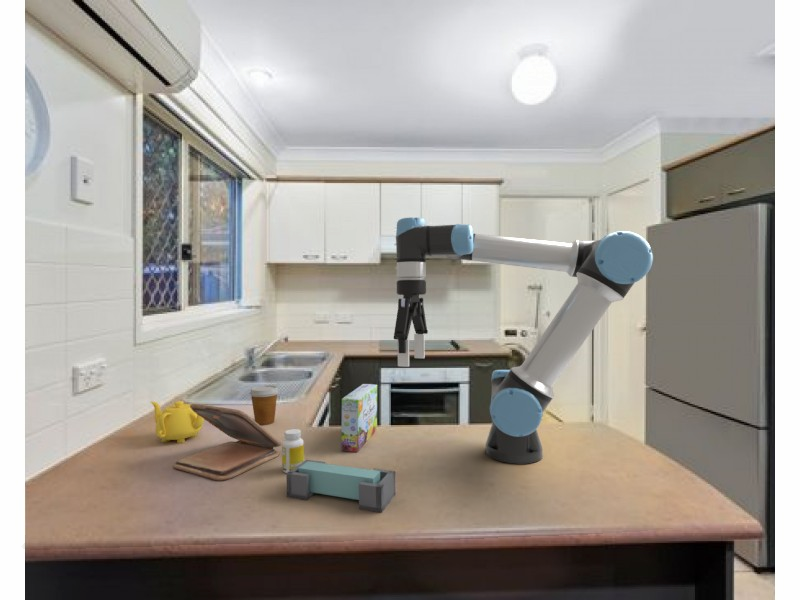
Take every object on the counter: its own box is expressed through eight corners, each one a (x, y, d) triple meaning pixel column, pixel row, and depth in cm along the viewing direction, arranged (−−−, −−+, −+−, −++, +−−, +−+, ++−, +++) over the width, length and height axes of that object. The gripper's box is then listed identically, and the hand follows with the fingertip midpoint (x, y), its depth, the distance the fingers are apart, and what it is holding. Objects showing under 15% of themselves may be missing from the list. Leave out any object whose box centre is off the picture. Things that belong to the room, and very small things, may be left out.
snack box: (359, 453, 123) (358, 399, 122) (340, 451, 124) (339, 398, 124) (378, 429, 143) (377, 383, 143) (361, 428, 145) (361, 382, 144)
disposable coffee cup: (284, 421, 154) (284, 386, 153) (263, 428, 145) (262, 392, 145) (266, 417, 159) (265, 384, 158) (244, 423, 151) (243, 389, 150)
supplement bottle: (308, 467, 113) (307, 429, 113) (296, 475, 108) (296, 435, 108) (290, 464, 115) (289, 427, 115) (277, 472, 110) (277, 433, 110)
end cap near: (359, 508, 91) (358, 484, 91) (374, 491, 99) (374, 468, 99) (381, 512, 89) (381, 487, 89) (395, 494, 97) (395, 471, 97)
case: (285, 454, 122) (284, 397, 122) (223, 484, 104) (221, 416, 104) (233, 444, 132) (232, 391, 132) (168, 469, 113) (166, 407, 113)
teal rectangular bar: (380, 493, 96) (380, 471, 96) (373, 502, 92) (373, 478, 92) (308, 482, 102) (307, 461, 102) (298, 490, 98) (298, 467, 98)
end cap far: (325, 483, 103) (325, 461, 103) (306, 500, 95) (306, 476, 95) (306, 481, 105) (306, 459, 104) (286, 496, 97) (286, 473, 97)
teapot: (130, 445, 130) (129, 407, 130) (167, 430, 145) (166, 395, 144) (188, 450, 126) (188, 410, 126) (221, 433, 140) (220, 398, 140)
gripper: (411, 280, 126) (412, 354, 126) (379, 278, 102) (380, 369, 102) (437, 280, 123) (438, 355, 124) (410, 277, 100) (411, 371, 100)
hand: (412, 362), depth 113 cm, fingers open, 13 cm apart
